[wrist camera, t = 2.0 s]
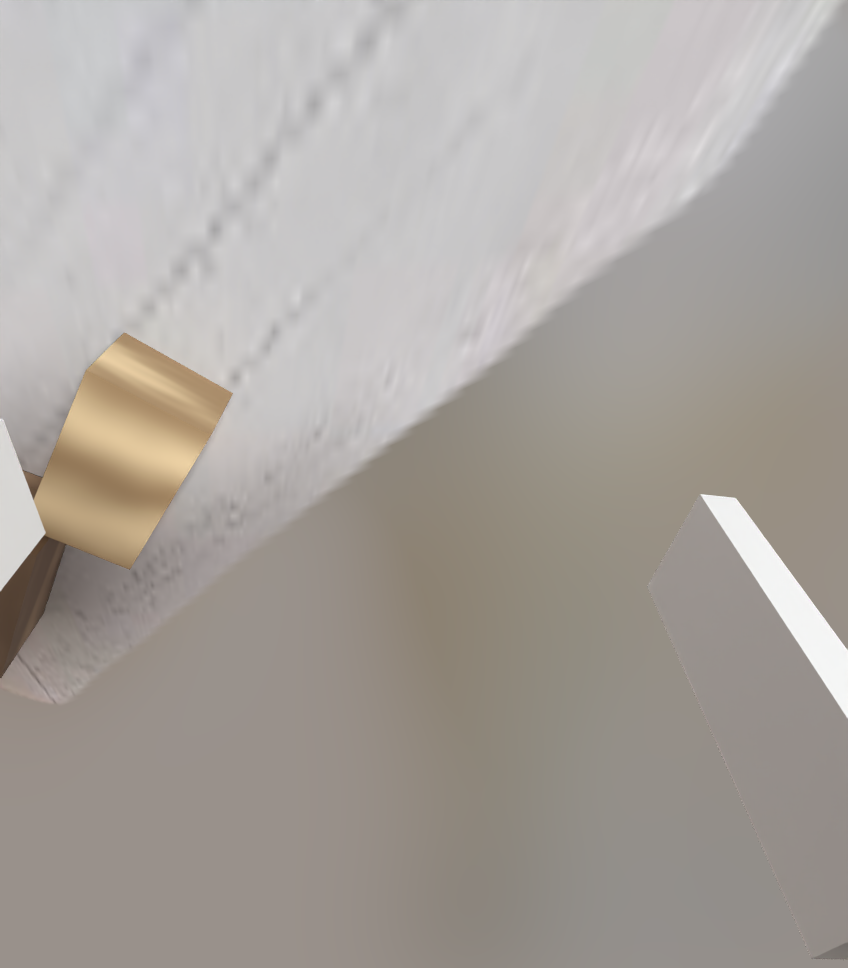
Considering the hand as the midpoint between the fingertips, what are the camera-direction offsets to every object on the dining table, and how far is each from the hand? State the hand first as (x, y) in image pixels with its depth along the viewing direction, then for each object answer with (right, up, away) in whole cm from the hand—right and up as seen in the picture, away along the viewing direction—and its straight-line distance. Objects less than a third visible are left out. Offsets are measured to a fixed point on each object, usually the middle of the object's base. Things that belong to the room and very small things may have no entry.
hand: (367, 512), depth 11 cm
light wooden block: (-16, +3, +22) cm, 27 cm away
